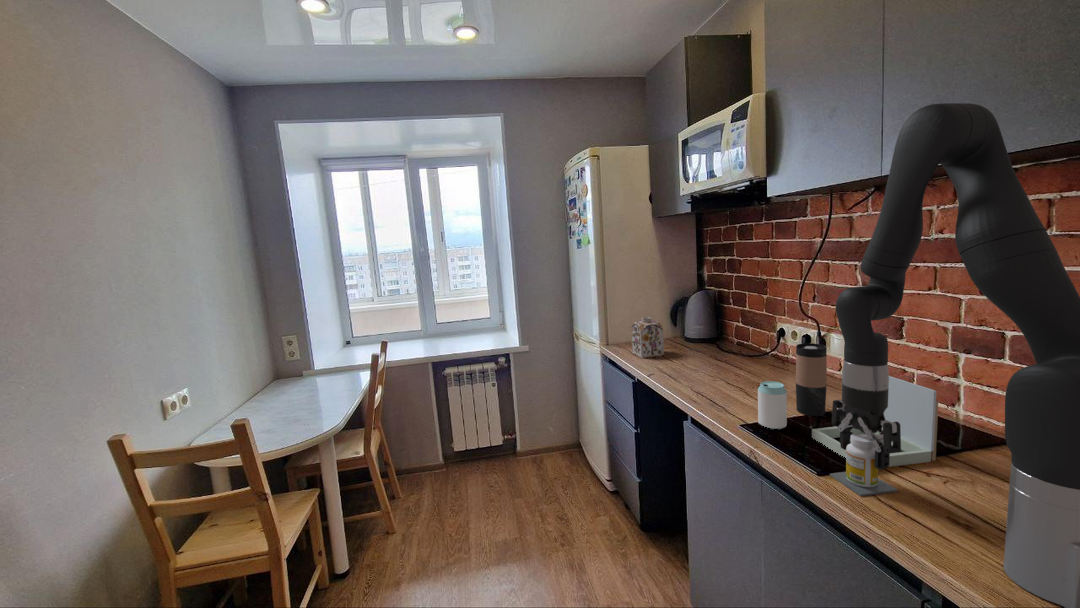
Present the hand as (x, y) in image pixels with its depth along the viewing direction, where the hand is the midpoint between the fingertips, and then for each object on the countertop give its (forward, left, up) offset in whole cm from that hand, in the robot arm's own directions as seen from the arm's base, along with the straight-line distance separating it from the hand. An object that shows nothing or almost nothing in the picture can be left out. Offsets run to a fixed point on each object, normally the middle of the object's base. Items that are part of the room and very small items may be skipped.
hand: (862, 458), depth 88 cm
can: (+30, 0, -6) cm, 31 cm away
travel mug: (+36, -16, -6) cm, 40 cm away
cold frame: (+13, -12, -6) cm, 19 cm away
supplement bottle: (0, 0, -5) cm, 5 cm away
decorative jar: (+116, +6, -6) cm, 116 cm away
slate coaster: (0, 0, -6) cm, 6 cm away
